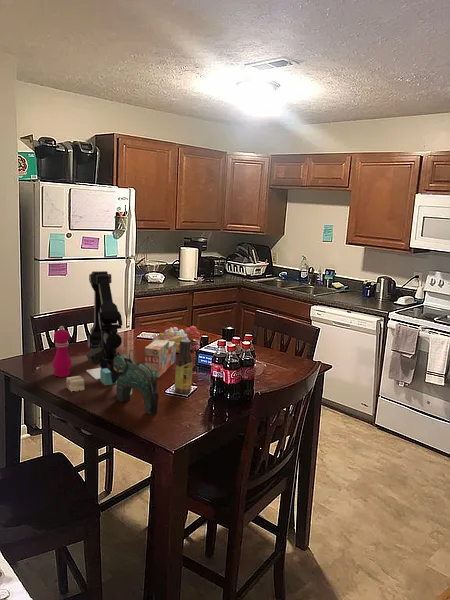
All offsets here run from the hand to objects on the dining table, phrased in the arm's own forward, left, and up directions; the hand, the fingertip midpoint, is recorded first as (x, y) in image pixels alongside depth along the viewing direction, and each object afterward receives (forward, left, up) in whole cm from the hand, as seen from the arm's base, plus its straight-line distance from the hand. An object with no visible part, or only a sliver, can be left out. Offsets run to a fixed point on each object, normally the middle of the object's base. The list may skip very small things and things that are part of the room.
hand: (108, 379), depth 196 cm
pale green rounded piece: (+13, +1, -1) cm, 13 cm away
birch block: (0, -13, -1) cm, 13 cm away
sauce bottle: (+21, +21, -1) cm, 30 cm away
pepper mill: (-16, -13, -1) cm, 21 cm away
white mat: (-10, +2, -1) cm, 10 cm away
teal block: (0, 0, -1) cm, 1 cm away
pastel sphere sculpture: (-29, +47, -2) cm, 55 cm away
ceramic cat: (+25, 0, -1) cm, 25 cm away
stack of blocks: (-5, +25, -2) cm, 26 cm away
